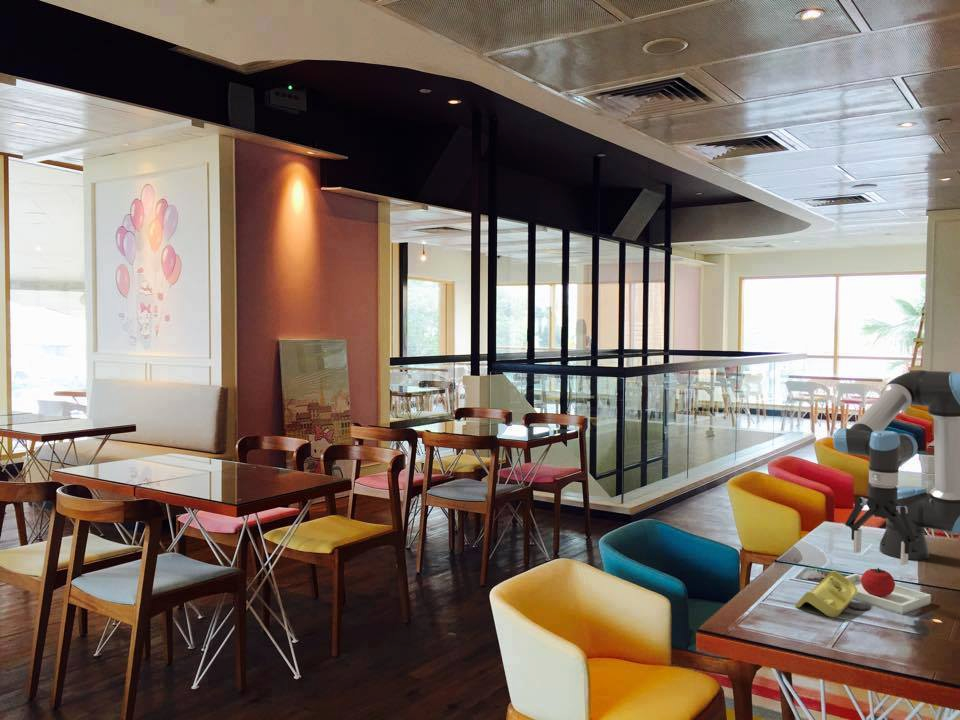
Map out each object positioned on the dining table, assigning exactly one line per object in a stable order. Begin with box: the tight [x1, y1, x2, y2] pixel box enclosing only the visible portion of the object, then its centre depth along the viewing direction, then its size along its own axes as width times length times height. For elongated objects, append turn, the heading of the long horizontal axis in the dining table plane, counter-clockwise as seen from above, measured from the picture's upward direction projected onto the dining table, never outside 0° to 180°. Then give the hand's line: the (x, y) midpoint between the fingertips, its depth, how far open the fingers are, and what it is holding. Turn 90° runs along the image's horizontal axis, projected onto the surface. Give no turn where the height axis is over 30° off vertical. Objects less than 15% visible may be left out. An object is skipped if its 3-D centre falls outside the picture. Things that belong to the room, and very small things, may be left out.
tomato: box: [861, 567, 896, 597], centre depth 228 cm, size 9×9×8 cm
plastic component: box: [794, 570, 857, 618], centre depth 221 cm, size 20×7×10 cm
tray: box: [844, 573, 932, 615], centre depth 228 cm, size 16×22×2 cm
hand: (880, 558), depth 228 cm, fingers open, 13 cm apart
